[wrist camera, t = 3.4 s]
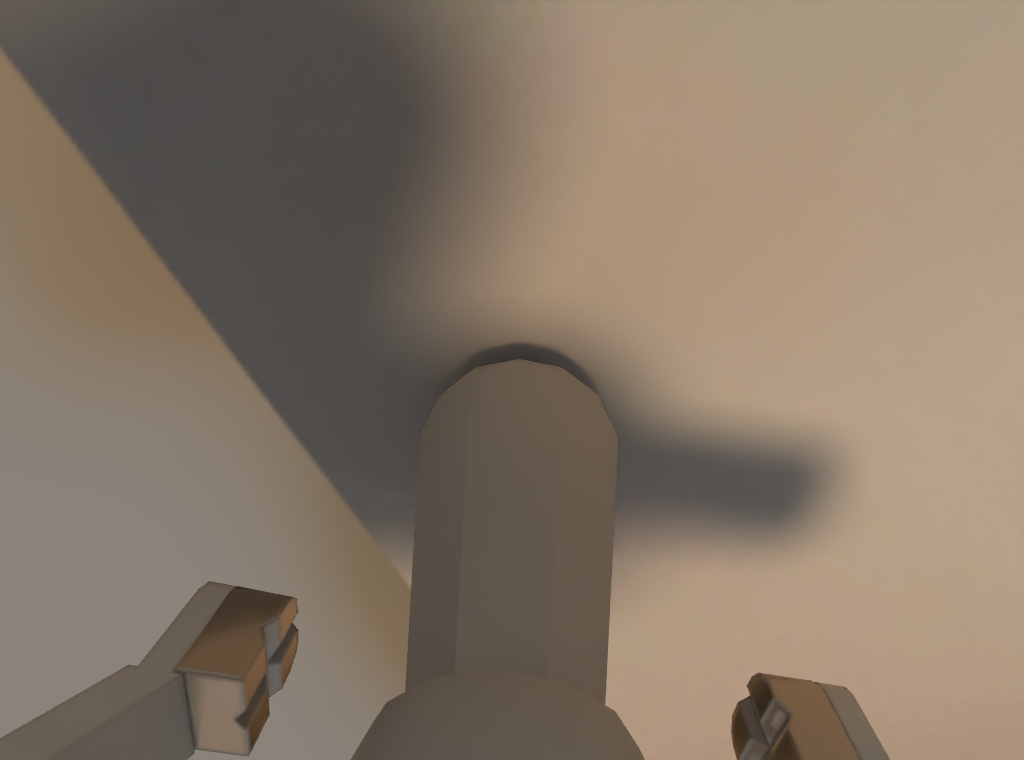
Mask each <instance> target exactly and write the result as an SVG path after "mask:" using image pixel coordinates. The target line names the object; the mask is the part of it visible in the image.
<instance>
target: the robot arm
mask: <svg viewBox="0 0 1024 760" xmlns="http://www.w3.org/2000/svg"><path fill="white" fill-rule="evenodd" d="M297 613H298V607H297V598H294V597H290V596H285V595H280V594H274V593H269V592H264V591H259V590H254V589H249V588H244V587H238V586H232V585H227V584H220V583H215V582H208V583H206V584H205V585H204V586H202V587H201V588H199V589H198V590H197V592H196V593H195V594H194V596H193V597H192V598H191V599H190V601H189V602H188V603H187V604H186V606H185V607H184V608H183V609H182V611H181V612H180V613H179V615H178V616H177V617H176V618H175V620H174V621H173V622H172V624H171V625H170V626H169V627H168V629H167V630H166V631H165V632H164V634H163V635H162V636H161V637H160V639H159V640H158V641H157V643H156V644H155V645H154V646H153V648H152V649H151V650H150V652H149V653H148V654H147V655H146V656H145V658H144V659H143V660H142V661H141V663H140V664H139V665H138V666H132V665H127V666H126V667H124V668H122V669H120V670H119V671H117V672H115V673H114V674H112V675H110V676H108V677H107V678H105V679H103V680H101V681H100V682H98V683H96V684H94V685H93V686H91V687H89V688H87V689H86V690H84V691H82V692H80V693H79V694H77V695H75V696H73V697H72V698H70V699H68V700H66V701H65V702H63V703H61V704H59V705H58V706H56V707H54V708H52V709H51V710H49V711H47V712H45V713H44V714H42V715H40V716H38V717H37V718H35V719H33V720H32V721H30V722H28V723H27V724H25V725H23V726H21V727H19V728H18V729H16V730H14V731H12V732H11V733H9V734H7V735H5V736H4V737H2V738H0V760H187V759H188V758H189V757H191V756H192V755H193V754H194V750H203V751H210V752H218V753H226V754H234V755H241V756H249V755H250V753H251V751H252V749H253V747H254V745H255V743H256V741H257V739H258V737H259V735H260V733H261V731H262V729H263V727H264V725H265V723H266V720H267V719H268V716H269V698H270V697H271V696H272V695H274V694H275V693H276V692H278V691H279V690H280V689H282V688H283V685H284V683H285V681H286V679H287V677H288V675H289V673H290V670H291V667H292V664H293V660H294V658H295V655H296V651H297V644H298V629H297V628H296V627H295V626H294V624H293V623H292V622H293V620H294V618H295V616H296V614H297ZM747 688H748V690H749V693H750V696H749V697H747V698H745V699H743V700H741V701H739V702H738V704H737V706H736V708H735V710H734V712H733V715H732V727H731V734H732V741H733V747H734V750H735V754H736V757H737V760H890V759H889V757H888V755H887V754H886V752H885V750H884V748H883V746H882V745H881V743H880V741H879V739H878V738H877V736H876V734H875V732H874V731H873V729H872V727H871V725H870V724H869V722H868V720H867V718H866V716H865V715H864V713H863V711H862V709H861V708H860V706H859V704H858V702H857V701H856V699H855V697H854V696H853V694H852V693H851V692H850V691H849V690H848V689H847V688H846V687H842V686H837V685H830V684H824V683H818V682H812V681H810V680H803V679H797V678H790V677H783V676H777V675H770V674H763V673H757V674H756V675H754V676H752V677H751V679H750V681H749V683H748V685H747Z"/></svg>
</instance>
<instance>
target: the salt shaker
mask: <svg viewBox="0 0 1024 760" xmlns="http://www.w3.org/2000/svg"><path fill="white" fill-rule="evenodd" d="M617 455H618V436H617V434H616V432H615V430H614V428H613V426H612V423H611V421H610V419H609V417H608V415H607V413H606V411H605V409H604V407H603V405H602V402H601V400H600V399H599V397H598V395H597V394H596V393H595V392H594V391H592V390H591V389H590V388H588V387H587V386H586V385H584V384H583V383H582V382H581V381H579V380H578V379H577V378H575V377H574V376H573V375H571V374H570V373H569V372H567V371H566V370H565V369H563V368H561V367H558V366H554V365H551V364H541V363H537V362H532V361H527V360H522V359H516V360H511V361H506V362H501V363H495V364H490V365H485V366H480V367H475V368H474V369H473V370H471V371H470V372H469V373H468V374H466V375H465V376H464V377H462V378H461V379H460V380H459V381H457V382H456V383H455V384H453V385H452V386H451V387H450V388H448V389H447V390H446V391H445V392H443V393H442V395H441V396H440V397H439V398H438V399H437V401H436V403H435V405H434V407H433V409H432V411H431V414H430V416H429V418H428V420H427V422H426V424H425V426H424V428H423V430H422V432H421V434H420V446H419V463H418V481H417V498H416V515H415V533H414V550H413V567H412V585H411V603H410V619H409V637H408V654H407V671H406V689H405V693H403V694H401V695H399V696H397V697H395V698H394V699H392V700H390V701H388V702H387V703H386V704H385V706H384V707H383V709H382V710H381V712H380V713H379V715H378V716H377V717H376V719H375V720H374V722H373V723H372V725H371V727H370V728H369V730H368V732H367V733H366V735H365V737H364V738H363V740H362V742H361V743H360V745H359V747H358V748H357V750H356V752H355V754H354V755H353V757H352V759H351V760H645V759H644V757H643V755H642V753H641V751H640V749H639V747H638V746H637V744H636V743H635V741H634V740H633V738H632V737H631V735H630V733H629V732H628V730H627V729H626V727H625V726H624V724H623V723H622V721H621V719H620V718H619V716H618V715H617V713H616V712H615V711H614V710H612V709H610V708H609V707H607V706H605V697H606V677H607V657H608V637H609V617H610V597H611V576H612V556H613V536H614V516H615V496H616V476H617Z"/></svg>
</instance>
